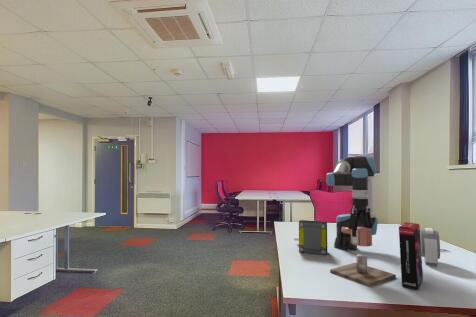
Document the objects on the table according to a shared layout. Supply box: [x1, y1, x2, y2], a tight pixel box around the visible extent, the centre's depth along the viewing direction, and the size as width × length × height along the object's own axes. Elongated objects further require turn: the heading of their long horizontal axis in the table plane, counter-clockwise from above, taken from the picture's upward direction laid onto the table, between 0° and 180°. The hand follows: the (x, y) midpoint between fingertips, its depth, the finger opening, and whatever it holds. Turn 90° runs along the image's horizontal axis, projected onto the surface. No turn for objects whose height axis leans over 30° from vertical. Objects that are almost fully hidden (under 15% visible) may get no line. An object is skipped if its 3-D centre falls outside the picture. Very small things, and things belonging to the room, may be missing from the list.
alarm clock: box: [420, 227, 441, 268], centre depth 156 cm, size 18×8×20 cm, turn 148°
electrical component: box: [298, 219, 328, 256], centre depth 178 cm, size 18×10×20 cm, turn 68°
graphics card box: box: [398, 221, 424, 291], centre depth 126 cm, size 17×7×27 cm, turn 139°
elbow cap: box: [341, 227, 373, 247], centre depth 140 cm, size 16×9×8 cm, turn 33°
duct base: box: [329, 254, 397, 288], centre depth 136 cm, size 22×22×10 cm
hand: (361, 241), depth 137 cm, fingers closed on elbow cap, 9 cm apart
